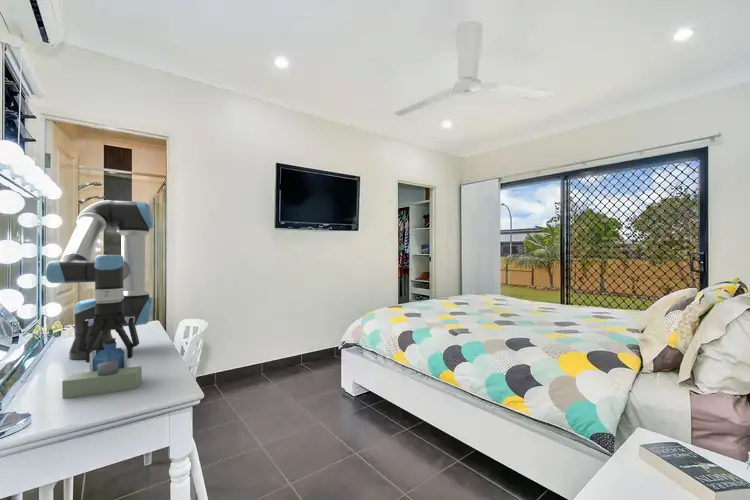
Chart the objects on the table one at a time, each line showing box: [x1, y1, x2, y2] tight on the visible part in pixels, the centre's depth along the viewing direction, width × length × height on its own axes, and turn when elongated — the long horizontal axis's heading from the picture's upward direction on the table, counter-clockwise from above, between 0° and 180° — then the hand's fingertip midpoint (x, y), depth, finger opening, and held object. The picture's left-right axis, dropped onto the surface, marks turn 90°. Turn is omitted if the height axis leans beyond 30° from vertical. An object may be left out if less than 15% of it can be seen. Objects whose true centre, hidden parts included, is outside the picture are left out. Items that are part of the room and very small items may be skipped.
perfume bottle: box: [93, 337, 124, 371], centre depth 113 cm, size 6×6×12 cm
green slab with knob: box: [61, 361, 143, 399], centre depth 109 cm, size 15×18×8 cm
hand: (110, 369), depth 113 cm, fingers closed on perfume bottle, 8 cm apart
